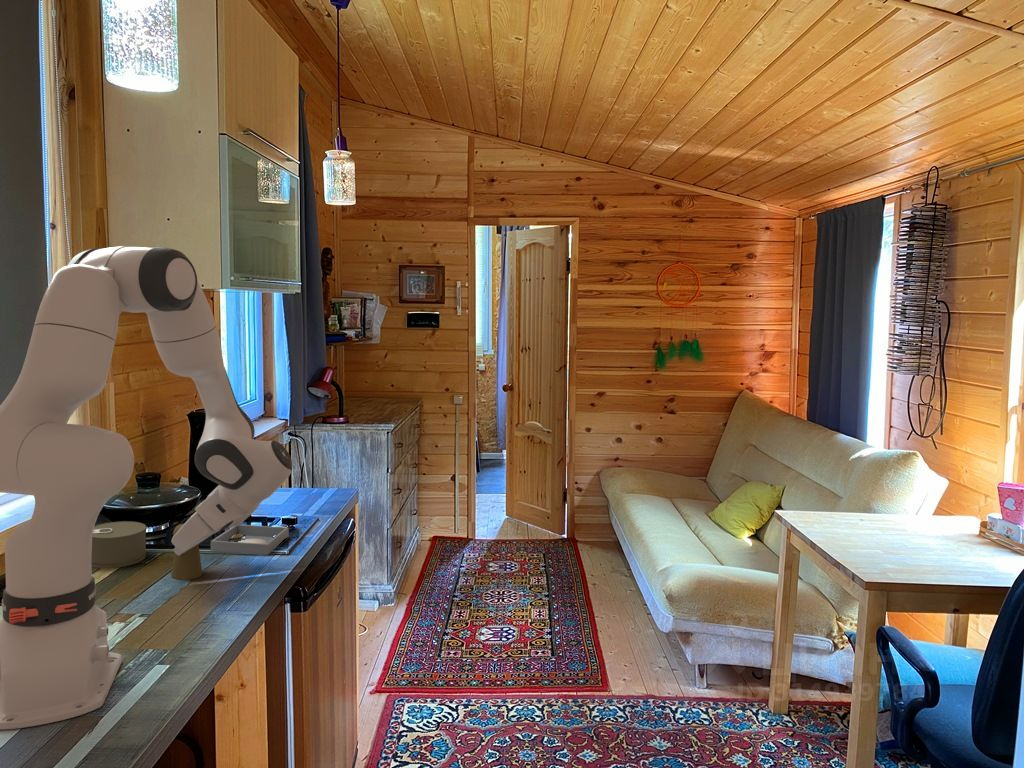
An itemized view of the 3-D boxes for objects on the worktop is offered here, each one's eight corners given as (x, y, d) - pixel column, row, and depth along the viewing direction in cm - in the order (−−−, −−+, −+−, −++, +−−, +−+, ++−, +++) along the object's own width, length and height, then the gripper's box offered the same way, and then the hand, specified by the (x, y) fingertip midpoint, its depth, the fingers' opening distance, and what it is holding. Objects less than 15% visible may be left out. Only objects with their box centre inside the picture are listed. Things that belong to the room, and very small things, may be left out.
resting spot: (269, 546, 174) (269, 545, 174) (237, 550, 171) (237, 549, 171) (263, 538, 180) (263, 537, 180) (233, 541, 177) (233, 540, 177)
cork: (190, 582, 151) (191, 529, 150) (164, 579, 152) (164, 526, 151) (208, 573, 157) (209, 522, 156) (183, 570, 158) (183, 519, 157)
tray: (267, 557, 168) (267, 544, 168) (210, 554, 169) (210, 541, 169) (288, 539, 181) (288, 527, 181) (235, 536, 182) (235, 524, 182)
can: (147, 565, 161) (146, 534, 161) (83, 571, 156) (82, 540, 155) (146, 547, 172) (146, 519, 171) (86, 553, 166) (86, 524, 166)
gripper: (241, 481, 163) (198, 522, 165) (195, 505, 143) (146, 552, 144) (260, 502, 163) (217, 543, 165) (218, 530, 143) (169, 576, 144)
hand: (184, 547), depth 154 cm, fingers closed on cork, 4 cm apart
